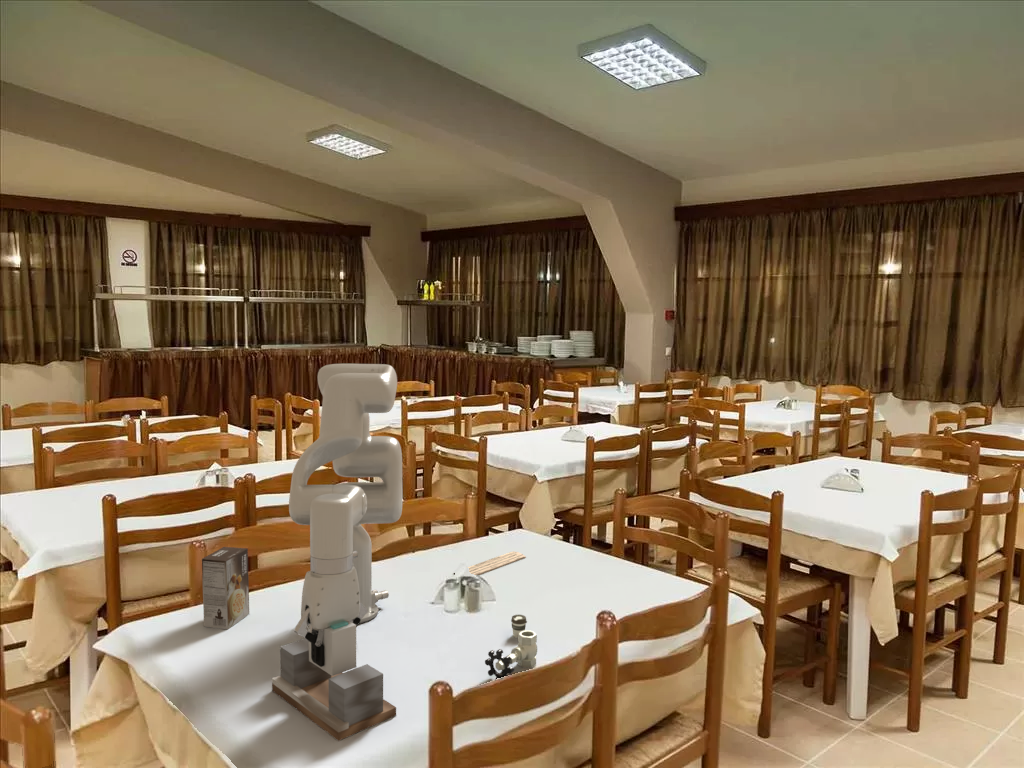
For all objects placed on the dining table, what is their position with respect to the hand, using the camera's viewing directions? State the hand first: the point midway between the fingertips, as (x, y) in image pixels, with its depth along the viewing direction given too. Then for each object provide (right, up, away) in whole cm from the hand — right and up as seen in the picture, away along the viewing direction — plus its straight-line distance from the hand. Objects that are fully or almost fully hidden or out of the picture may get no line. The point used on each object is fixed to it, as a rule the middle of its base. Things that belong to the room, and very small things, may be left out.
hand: (332, 658), depth 143 cm
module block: (0, -1, 0) cm, 1 cm away
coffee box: (-33, -4, +36) cm, 49 cm away
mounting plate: (0, -9, +1) cm, 9 cm away
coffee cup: (+34, -7, +31) cm, 47 cm away
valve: (+34, -8, +15) cm, 38 cm away
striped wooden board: (+27, -2, +77) cm, 82 cm away
